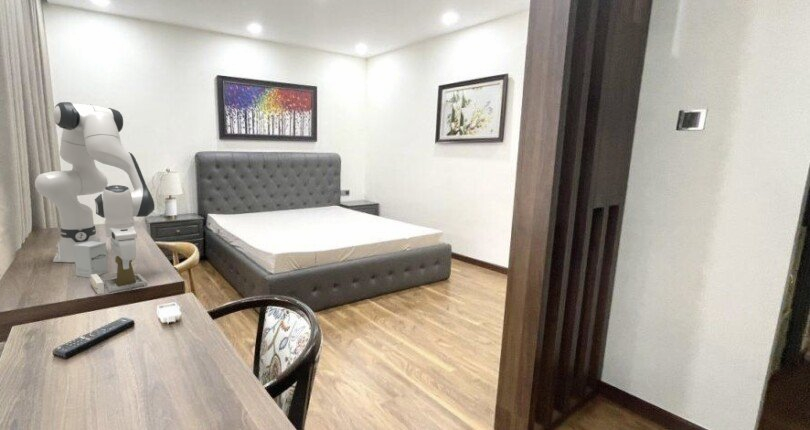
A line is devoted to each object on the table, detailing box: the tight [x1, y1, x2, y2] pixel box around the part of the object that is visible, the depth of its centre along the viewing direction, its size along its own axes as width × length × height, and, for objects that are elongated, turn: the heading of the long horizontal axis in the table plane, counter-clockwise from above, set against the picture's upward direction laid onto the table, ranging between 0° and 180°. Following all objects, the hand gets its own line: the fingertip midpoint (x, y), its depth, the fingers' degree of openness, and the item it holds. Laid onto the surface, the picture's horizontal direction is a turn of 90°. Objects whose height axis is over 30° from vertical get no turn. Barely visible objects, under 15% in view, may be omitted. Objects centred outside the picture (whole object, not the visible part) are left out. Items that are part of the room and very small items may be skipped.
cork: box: [115, 255, 136, 286], centre depth 146 cm, size 6×6×11 cm
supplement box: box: [74, 241, 109, 279], centre depth 156 cm, size 7×7×13 cm
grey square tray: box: [102, 273, 148, 293], centre depth 147 cm, size 12×12×2 cm
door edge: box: [89, 274, 105, 295], centre depth 142 cm, size 12×2×4 cm, turn 46°
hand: (124, 266), depth 146 cm, fingers closed on cork, 4 cm apart
